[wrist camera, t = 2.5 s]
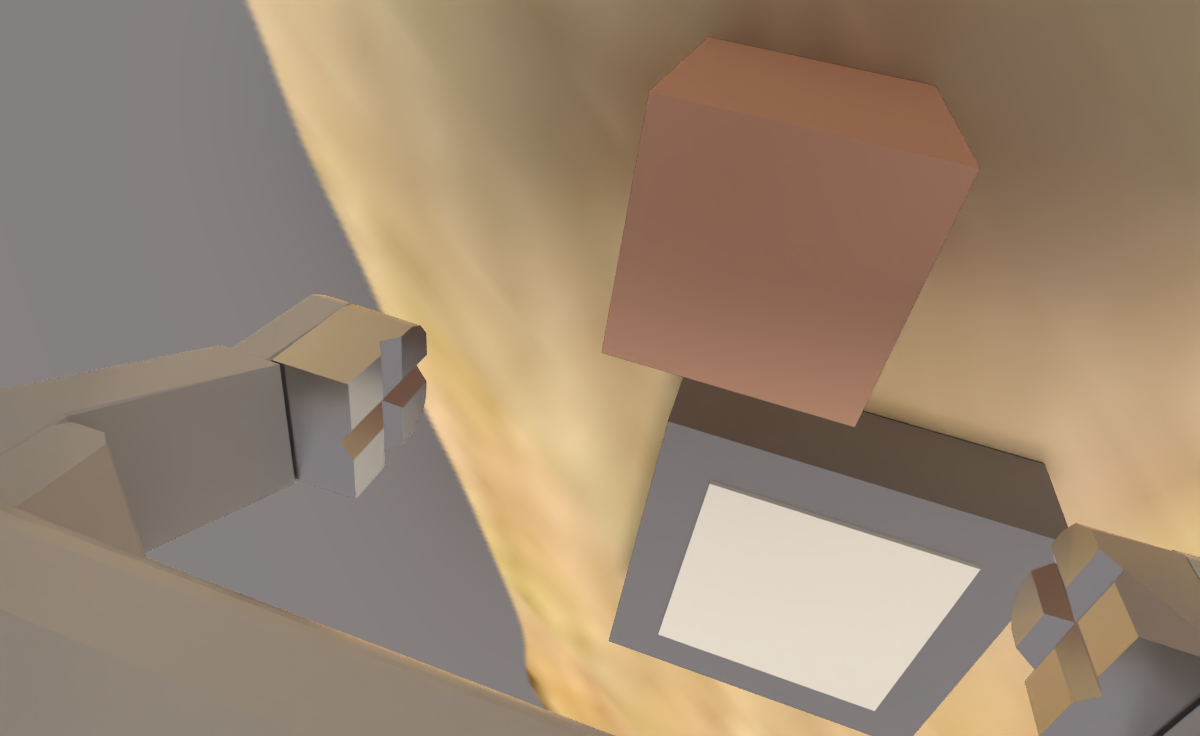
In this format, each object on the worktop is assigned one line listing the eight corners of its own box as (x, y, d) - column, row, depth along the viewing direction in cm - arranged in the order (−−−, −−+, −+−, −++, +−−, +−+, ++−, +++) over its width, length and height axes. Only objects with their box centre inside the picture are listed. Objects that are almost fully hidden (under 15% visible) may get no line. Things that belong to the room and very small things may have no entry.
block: (708, 36, 15) (648, 91, 11) (935, 85, 15) (980, 168, 10) (664, 238, 18) (601, 352, 14) (850, 287, 18) (854, 427, 13)
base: (688, 360, 20) (666, 424, 18) (1044, 464, 19) (1076, 550, 16) (630, 573, 26) (607, 644, 23) (897, 665, 24) (903, 751, 22)
